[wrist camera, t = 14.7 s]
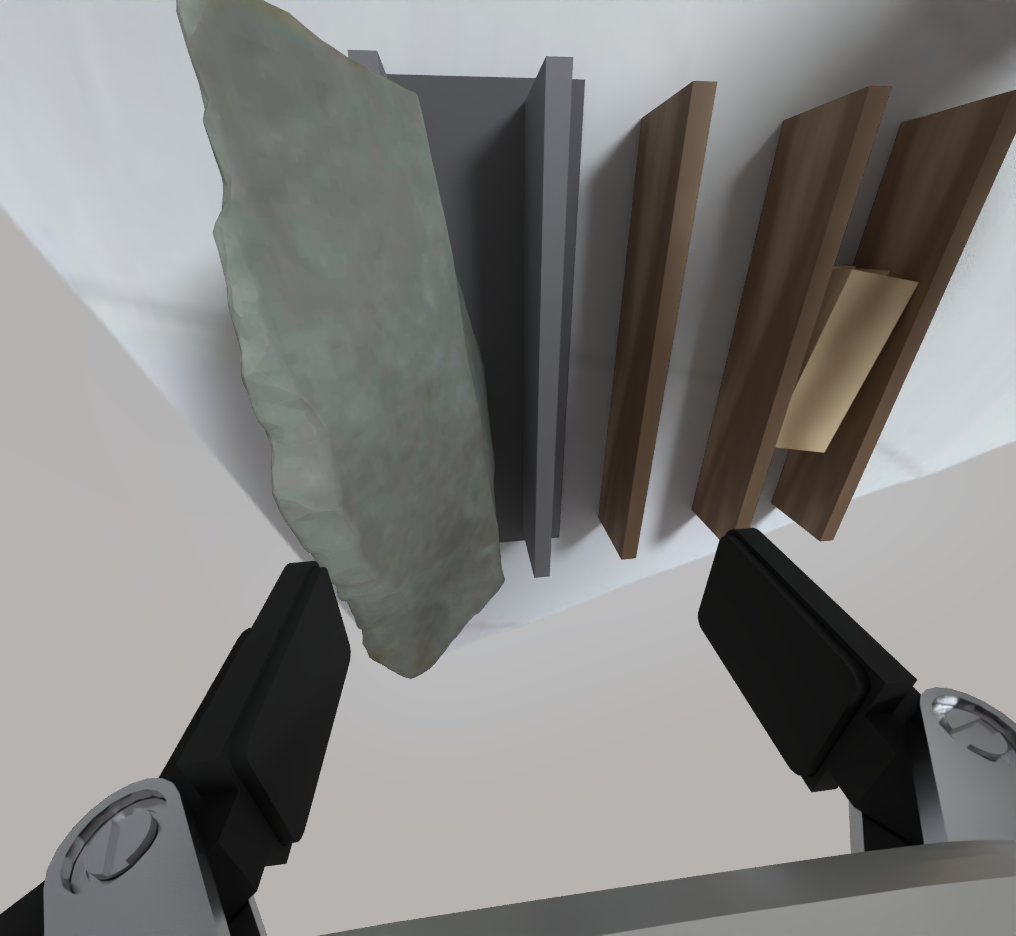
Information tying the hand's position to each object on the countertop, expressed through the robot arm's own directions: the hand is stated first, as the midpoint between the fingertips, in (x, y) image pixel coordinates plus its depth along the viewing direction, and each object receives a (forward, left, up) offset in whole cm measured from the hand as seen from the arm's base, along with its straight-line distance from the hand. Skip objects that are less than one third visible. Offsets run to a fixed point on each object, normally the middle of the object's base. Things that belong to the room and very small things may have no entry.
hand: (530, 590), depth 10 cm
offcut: (-24, 0, -20) cm, 31 cm away
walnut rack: (-20, 0, -23) cm, 30 cm away
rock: (0, 0, -23) cm, 23 cm away
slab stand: (0, 0, -23) cm, 23 cm away
